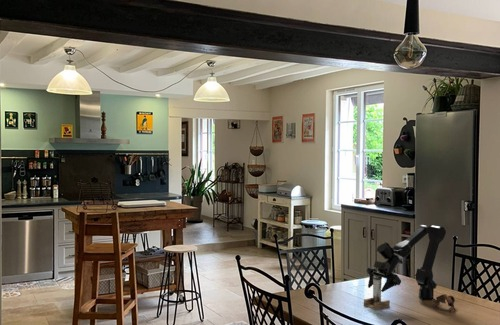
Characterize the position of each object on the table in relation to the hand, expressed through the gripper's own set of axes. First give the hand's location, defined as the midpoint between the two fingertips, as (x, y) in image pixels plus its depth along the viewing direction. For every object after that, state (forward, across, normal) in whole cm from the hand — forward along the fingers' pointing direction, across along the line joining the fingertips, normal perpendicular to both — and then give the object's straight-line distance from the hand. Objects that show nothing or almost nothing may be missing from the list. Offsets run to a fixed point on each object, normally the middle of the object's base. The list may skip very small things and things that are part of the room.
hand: (375, 289), depth 250 cm
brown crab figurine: (-13, +21, +26) cm, 36 cm away
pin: (+4, 0, +7) cm, 8 cm away
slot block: (+5, 0, +7) cm, 9 cm away
